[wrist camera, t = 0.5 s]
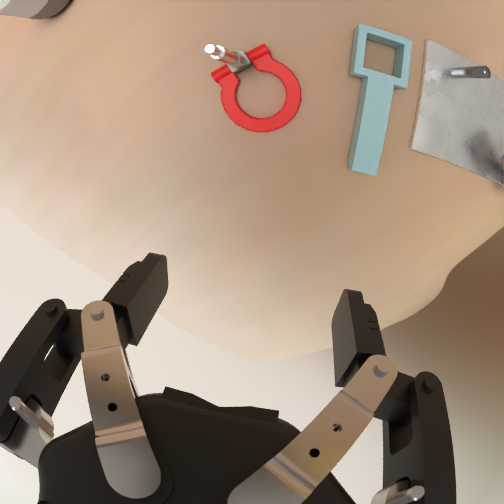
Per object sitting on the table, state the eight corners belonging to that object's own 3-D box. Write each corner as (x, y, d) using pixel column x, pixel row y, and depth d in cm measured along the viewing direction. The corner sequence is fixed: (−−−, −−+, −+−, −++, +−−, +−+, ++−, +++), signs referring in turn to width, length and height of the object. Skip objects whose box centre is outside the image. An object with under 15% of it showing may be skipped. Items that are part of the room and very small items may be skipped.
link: (354, 29, 23) (359, 23, 20) (403, 44, 22) (412, 40, 20) (334, 161, 32) (337, 167, 29) (381, 172, 31) (388, 179, 29)
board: (425, 40, 21) (427, 39, 20) (520, 95, 20) (523, 95, 19) (409, 147, 29) (411, 148, 28) (502, 185, 28) (505, 187, 27)
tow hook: (314, 110, 29) (272, 40, 25) (329, 124, 18) (259, 9, 14) (247, 143, 33) (205, 77, 29) (221, 178, 21) (154, 74, 17)
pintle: (451, 66, 21) (482, 63, 15) (460, 70, 21) (491, 69, 15) (450, 75, 22) (481, 75, 16) (459, 80, 22) (490, 80, 16)
